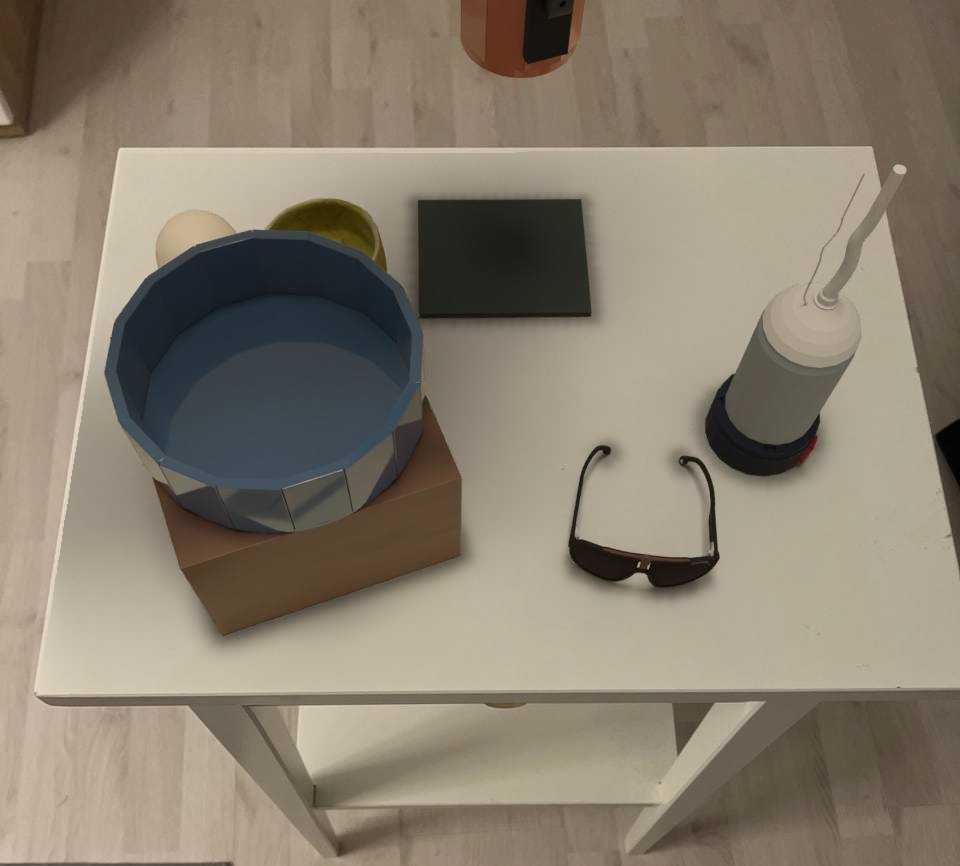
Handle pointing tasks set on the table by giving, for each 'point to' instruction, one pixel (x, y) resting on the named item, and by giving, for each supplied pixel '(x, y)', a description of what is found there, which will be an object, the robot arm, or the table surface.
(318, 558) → the riser
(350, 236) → the mug
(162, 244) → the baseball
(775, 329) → the humidifier
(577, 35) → the cup
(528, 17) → the robot arm
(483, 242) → the mat
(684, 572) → the sunglasses
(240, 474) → the bowl
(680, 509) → the table surface
